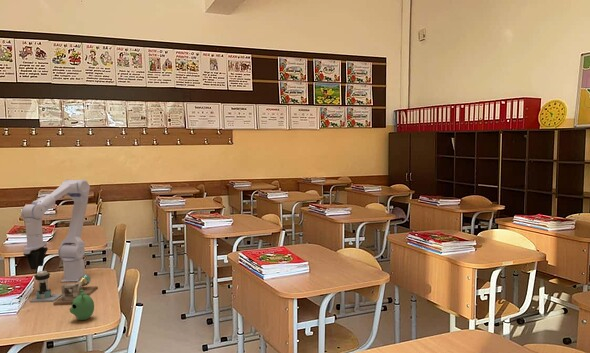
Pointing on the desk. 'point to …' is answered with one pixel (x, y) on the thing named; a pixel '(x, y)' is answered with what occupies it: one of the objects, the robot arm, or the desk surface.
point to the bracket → (69, 298)
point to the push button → (43, 285)
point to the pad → (51, 298)
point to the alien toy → (82, 306)
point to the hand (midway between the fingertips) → (37, 267)
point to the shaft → (80, 283)
